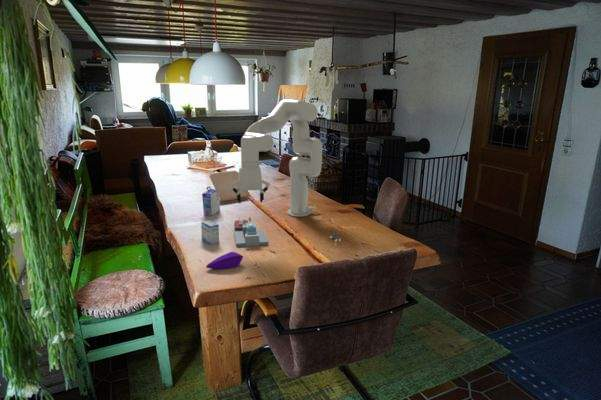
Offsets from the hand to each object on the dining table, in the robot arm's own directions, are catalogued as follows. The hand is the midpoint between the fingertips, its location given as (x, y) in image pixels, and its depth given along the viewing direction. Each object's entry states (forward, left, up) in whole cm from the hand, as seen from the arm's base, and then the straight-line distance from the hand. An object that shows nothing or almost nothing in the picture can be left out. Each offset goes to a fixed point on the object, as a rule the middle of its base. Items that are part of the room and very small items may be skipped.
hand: (250, 202), depth 179 cm
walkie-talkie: (+2, -18, -19) cm, 26 cm away
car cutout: (-39, +10, -19) cm, 45 cm away
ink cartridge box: (+17, -42, -18) cm, 49 cm away
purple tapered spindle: (+13, +26, -18) cm, 35 cm away
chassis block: (0, 0, -18) cm, 18 cm away
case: (+7, -70, -18) cm, 73 cm away
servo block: (0, 0, -18) cm, 18 cm away
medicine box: (+18, -1, -18) cm, 26 cm away
